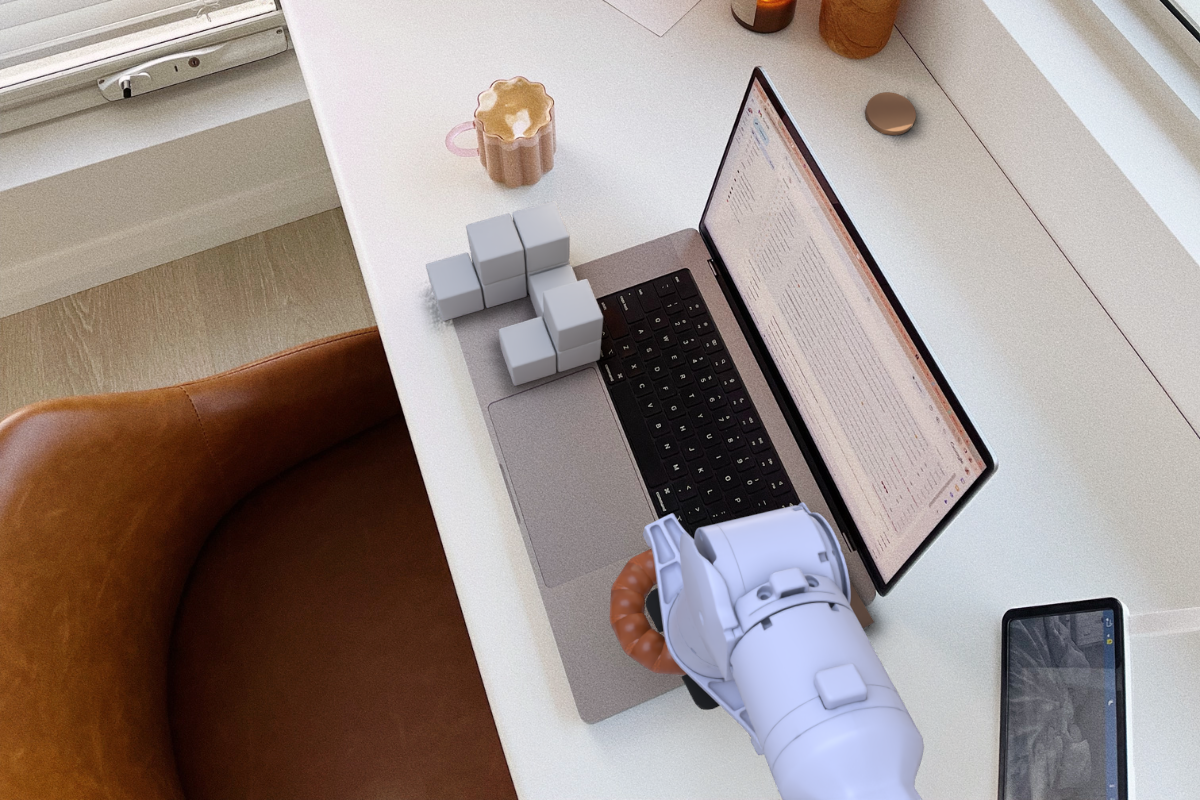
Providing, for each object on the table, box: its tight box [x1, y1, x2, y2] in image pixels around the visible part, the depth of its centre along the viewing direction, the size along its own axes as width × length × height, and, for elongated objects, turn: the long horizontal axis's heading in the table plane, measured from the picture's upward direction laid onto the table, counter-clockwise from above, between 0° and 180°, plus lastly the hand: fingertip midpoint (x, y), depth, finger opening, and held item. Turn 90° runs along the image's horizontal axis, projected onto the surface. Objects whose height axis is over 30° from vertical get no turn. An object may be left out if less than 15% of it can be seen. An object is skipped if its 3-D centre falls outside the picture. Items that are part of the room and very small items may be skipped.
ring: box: [608, 548, 687, 676], centre depth 63 cm, size 9×9×2 cm
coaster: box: [864, 91, 917, 136], centre depth 92 cm, size 5×5×1 cm
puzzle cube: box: [425, 200, 604, 387], centre depth 78 cm, size 12×12×8 cm
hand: (696, 649), depth 62 cm, fingers closed on ring, 2 cm apart
